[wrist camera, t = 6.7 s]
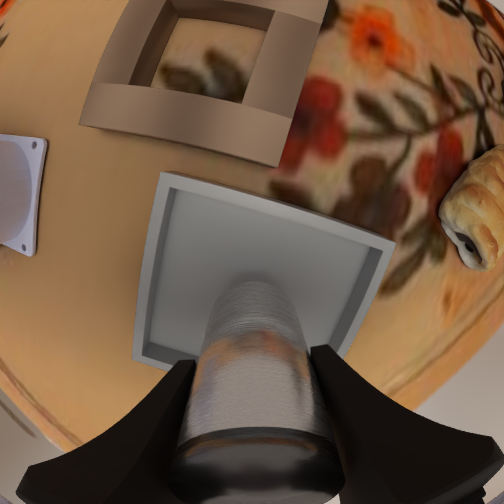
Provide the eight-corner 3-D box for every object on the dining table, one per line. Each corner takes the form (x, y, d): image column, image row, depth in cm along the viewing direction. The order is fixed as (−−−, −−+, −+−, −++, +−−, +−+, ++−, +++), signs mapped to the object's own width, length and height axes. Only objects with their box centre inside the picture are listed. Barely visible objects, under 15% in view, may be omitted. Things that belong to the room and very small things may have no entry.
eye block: (101, 129, 13) (78, 124, 11) (159, -10, 10) (148, -30, 8) (272, 168, 14) (277, 167, 11) (319, 17, 11) (329, -4, 9)
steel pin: (257, 368, 13) (262, 524, 5) (193, 325, 13) (140, 487, 4) (314, 316, 12) (377, 477, 4) (248, 263, 12) (245, 433, 4)
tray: (142, 341, 17) (131, 359, 15) (172, 171, 14) (160, 171, 12) (312, 382, 18) (318, 401, 16) (380, 234, 15) (396, 243, 13)
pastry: (483, 121, 13) (519, 119, 9) (517, 187, 14) (549, 194, 10) (425, 212, 15) (463, 224, 11) (466, 274, 16) (498, 294, 12)
